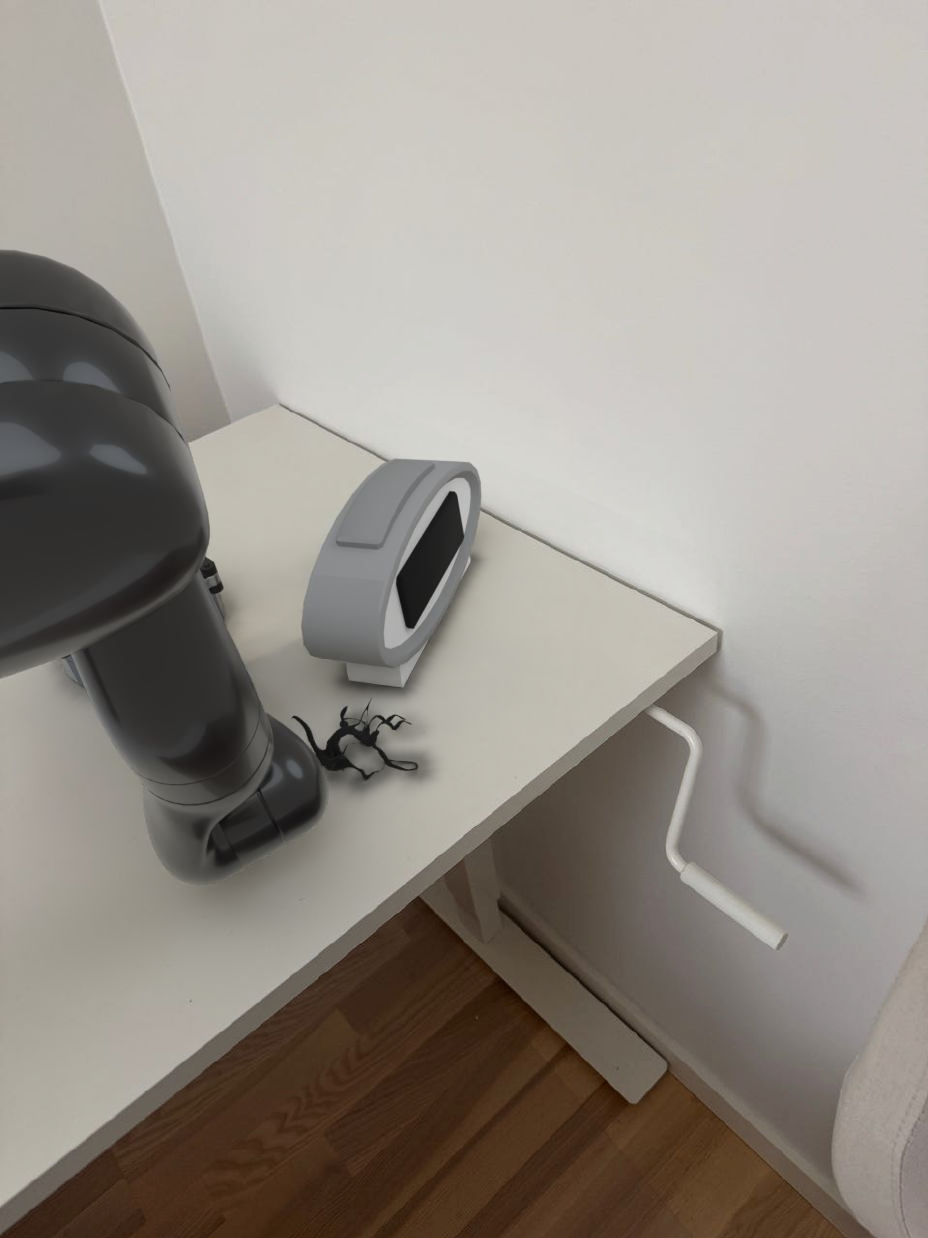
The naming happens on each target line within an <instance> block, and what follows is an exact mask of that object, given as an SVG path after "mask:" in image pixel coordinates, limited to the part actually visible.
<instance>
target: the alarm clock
mask: <svg viewBox="0 0 928 1238" xmlns="http://www.w3.org/2000/svg"><path fill="white" fill-rule="evenodd" d="M481 481H482V480H481V477H480V475H479V470H478V469H477V468H476V467H475V466H474V464H472V462H470V461H459V460H458V461H457V460H439V459H438V460H437V459H415V458H392V459H390V460H388V461H386V462H384V463H383V462H382V463H381V464H380V465H379V466H378V467H377V468H376V469H374V470H373V471H372V472H371V473H369V474H368V475H367V476H366V477H365V478H364V479H363V480H362V482H361V483H360V484H359V485H358V487H357V488H356V489H355V490H354V491H353V492H352V494H351V495H350V497H349V498H348V500H346V503H345V504H344V506H343V507H342V509H341V510H340V511H339V513H338V515H336V518H335V520H334V522H333V524H332V526H331V527H330V529H329V531H328V533H327V534H326V537H325V539H324V541H323V543H322V545H321V547H320V550H319V552H318V555H317V558H316V561H315V563H314V565H313V568H312V570H311V573H310V577H309V580H308V583H307V588H306V592H305V595H304V598H303V599H304V600H303V605H302V616H301V623H300V627H301V635H302V642H303V643H302V644H303V646H304V648H305V650H306V651H307V653H308V654H309V655H310V657H313V658H316V659H321V660H328V661H333V662H334V661H335V662H341V663H342V662H343V663H345V665H346V672H347V673H346V674H347V678H348V681H351V682H358V683H364V684H365V683H366V684H372V685H373V684H374V685H380V686H388V687H395V688H396V687H397V688H404V687H405V685H406V683H407V681H408V679H409V678H410V675H411V673H412V671H413V670H414V668H415V666H416V665H417V662H418V660H419V658H420V657H421V655H422V653H423V651H424V649H425V648H426V645H427V643H428V641H429V640H430V638H431V636H432V635H433V634H434V633H435V631H436V629H437V627H438V626H439V624H440V622H441V621H442V620H443V617H444V615H445V614H446V612H447V611H448V608H449V607H450V604H451V603H452V600H453V598H454V596H455V594H456V592H457V590H458V587H459V585H460V583H461V581H462V579H463V576H464V575H465V573H466V571H467V570H468V567H469V565H470V563H471V561H472V559H471V551H472V549H473V545H474V543H475V539H476V533H477V529H478V525H479V521H480V514H481V505H482V482H481Z"/></svg>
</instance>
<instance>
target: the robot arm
mask: <svg viewBox="0 0 928 1238" xmlns="http://www.w3.org/2000/svg"><path fill="white" fill-rule="evenodd" d="M210 539H211V524H210V517H209V511H208V506H207V502H206V498H205V494H204V490H203V487H202V483H201V480H200V477H199V474H198V469H197V467H196V463H195V460H194V457H193V453H192V451H191V447H190V445H189V442H188V439H187V436H186V433H185V429H184V426H183V423H182V420H181V416H180V413H179V410H178V408H177V404H176V401H175V398H174V395H173V393H172V390H171V386H170V382H169V380H168V377H167V374H166V371H165V369H164V367H163V365H162V363H161V360H160V358H159V356H158V353H157V352H156V349H155V348H154V346H153V344H152V342H151V340H150V338H149V337H148V335H147V333H146V332H145V330H144V329H143V328H142V326H140V324H139V322H138V321H137V320H136V319H135V317H134V316H133V315H132V314H131V312H130V311H129V310H128V308H127V307H126V305H124V304H123V303H122V302H121V301H120V300H118V299H117V298H116V297H115V296H114V295H113V294H112V293H111V292H110V291H109V290H108V289H106V288H105V287H104V286H103V285H102V284H101V283H99V282H98V281H95V280H94V279H93V278H91V277H90V276H88V275H87V274H84V273H83V272H82V271H80V270H78V269H77V268H75V267H72V266H71V265H68V264H65V263H63V262H60V261H58V260H56V259H53V258H50V257H49V256H44V255H40V254H36V253H31V252H27V251H23V250H22V251H21V250H17V249H0V680H2V679H6V678H8V677H11V676H14V675H16V674H21V673H23V672H25V671H29V670H31V669H33V668H36V667H40V666H43V665H46V664H48V663H51V662H54V661H58V659H64V658H67V657H69V656H70V655H72V658H73V660H74V663H75V665H76V667H77V670H78V672H79V675H80V677H81V679H82V682H83V684H84V688H85V691H86V694H87V696H88V698H89V701H90V703H91V705H92V708H93V710H94V713H95V714H96V716H97V719H98V721H99V723H100V725H101V727H102V728H103V730H104V732H105V734H106V736H107V737H108V739H109V740H110V742H111V743H112V745H113V746H114V748H115V750H116V751H117V753H118V754H119V756H120V757H121V759H122V760H123V761H124V762H125V764H126V765H127V766H128V768H129V769H130V770H131V771H132V773H133V774H134V775H135V776H136V778H137V779H138V780H139V782H140V783H141V784H142V785H143V790H142V791H143V797H142V799H143V813H144V819H145V826H146V830H147V834H148V838H149V840H150V843H151V846H152V848H153V850H154V852H155V855H156V857H157V858H158V860H159V861H160V863H161V865H162V866H163V867H164V868H165V870H166V871H167V872H168V873H169V874H170V875H172V876H173V877H174V878H175V879H177V880H179V881H180V882H182V883H185V884H188V885H192V886H211V885H216V884H219V883H221V882H224V881H226V880H228V879H230V878H232V877H233V876H235V875H236V874H238V873H241V872H242V871H243V870H245V869H246V868H248V867H250V866H252V865H253V864H255V863H257V862H258V861H260V860H262V859H264V858H266V857H268V856H269V855H271V854H272V853H274V852H277V851H278V850H280V849H282V848H283V847H285V845H286V844H287V845H288V844H291V843H292V842H294V841H296V840H297V839H299V838H300V837H302V836H304V835H305V834H307V833H309V832H310V831H312V830H313V829H314V828H315V827H316V826H317V825H318V824H319V823H320V822H321V820H322V819H323V817H324V816H325V814H326V812H327V808H328V804H329V796H330V787H329V781H328V777H327V774H326V772H325V769H324V767H323V766H322V764H321V762H320V761H319V759H318V758H317V756H316V754H315V752H314V750H313V748H312V747H311V746H309V745H308V743H306V742H305V741H304V739H302V738H301V737H300V736H299V735H298V734H297V733H295V732H294V731H293V730H292V729H291V728H290V727H288V726H287V725H286V724H285V723H283V722H282V721H280V720H279V719H277V718H276V717H274V716H272V715H271V714H269V713H268V712H266V710H265V709H264V705H263V704H262V700H261V698H260V696H259V694H258V691H257V688H256V687H255V684H254V681H253V680H252V677H251V675H250V673H249V671H248V669H247V667H246V665H245V662H244V660H243V658H242V656H241V654H240V652H239V649H238V648H237V646H236V644H235V642H234V639H233V637H232V636H231V633H230V630H229V629H228V627H227V625H226V623H225V622H224V621H223V619H222V617H221V614H220V612H219V610H218V608H217V606H216V604H215V602H214V600H213V598H212V595H211V594H217V593H219V592H220V593H221V592H223V591H224V588H225V587H224V584H223V581H222V579H221V576H220V574H219V571H218V569H217V566H216V563H215V561H214V560H212V559H210V558H208V557H207V556H206V555H207V553H208V548H209V546H210ZM205 556H206V557H205Z"/></svg>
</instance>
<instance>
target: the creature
mask: <svg viewBox="0 0 928 1238" xmlns="http://www.w3.org/2000/svg"><path fill="white" fill-rule="evenodd" d="M372 699H373V697H370V699H369V702H368V703H367V705H366V707H365V709H364V711H363V712H362V713H361V716H360V719H358V718H353V717H345V715H346V713H347V711H348V708H349V705H346V706H344V707H343V708H342V709H341V711H340V713H339V715H340V721H339V727H340V728H338V729H336V730H335V731H334V732H333V734H332V735H331V736H330V737H329V739H327V741H326V746H325V748H324V749H321V748H320V747H319V746H318V745H317V743H316V740H315V737H314V734H313V731H312V729H311V727H310V726H309V725H308V723H307V722H306V721H304V720H303V718H301V717H299V716H298V715H292V716H291V717H290V719H291V720H292V719H294V720H296V721H297V722H298V723H299V724H300V725H301V727H302V728H303V730H304V732H305V735H306V738H307V741H308V743H309V745H310V748H311V749H312V751H313V752H314V753H315V755H316V756H317V758H318V759H319V761H320V762H321V764H322V766H323V768H325V769H326V771H328V772H338V771H342V772H344V771H345V770H346V769H348V768H350V769H351V768H352V769H354V770H356V771H358V772H359V773H360V774H361V777H362V778H363V779H364V781H368V780H369V779H370V778H371V777H372V776H373V775H374V774H375V773H379V772H380V771H382V770H383V769H384V768H385V766H387V767H388V768H391V769H396V770H398V771H402V772H412V771H416V770H418V768H419V765H418V763H417V762H415V761H411V760H396V759H395V760H394V759H389V758H388V756H387V754H386V753H385V751H383V750H382V748H380V747H379V746H378V745H377V742H378V736H379V734H380V730H379V728H380V727H381V725H386V726H388V727H389V728H390V729H391V730H392V731H395V732H396V731H397V730H398V729H399V728H400V726H401V725H402V724H403V723H406V724H408V725H411V726H412V725H413V723H412V722H409V721H406V720H407V719H406V718H405V717H403V716H400V715H399V714H392V715H389V716H388V717H384V716H383V715H381V714H374V716H373V717H372V718H371V720H370V721H369V723H366V722H365V721H363V720H362V719H363V717H364V715H365V713H366V715H367V717H368V716H369V708H370V704H371V701H372ZM395 717H398V718H400V720H398V721H397V722H396V723H395V725H394V724H393V723H392V721H393V719H394V718H395ZM376 718H377V719H379V720H380V721H381V722H380V723H379V724H378V725H377V726H376V729H375V730H373V731H372V732H371V729H370V727H371V723H372V722H373V720H375V719H376ZM347 720H356V721H358V722H357V723H354V724H351V725H349V722H348V721H347ZM361 722H362V723H363V724H364V726H363V728H362V730H359V729H357V728H356V727H358V726H359V725H360V724H361ZM347 735H348V736H352V737H354V739H356V740H357V741H359V744H361V745H364V746H365V747H366V748H372V749H374V750H375V751H376V752H377V754H378V755H379V756H380V758H381V759H382V760H383V762H384V765H383V766H384V767H382V768H381V770H376V771H372V772H370V773H369V774H367V773H366V772H365V770H364V769H363V768H359V767H358V766H356V765H355V764H354V763H352V761H351V760H349V758H348V757H347V756H346V755H345V754H346V750H347V748H348V744H346V745H345V747H344V749H343V751H342V750H341V748H340V747H341V746H340V743H341V739H342V738H344V737H346V736H347ZM353 744H355V742H353V743H351V745H353ZM394 762H395V763H408V764H414V765H415V767H414V768H405V767H403V766H400V765H398V764H395V763H394Z"/></svg>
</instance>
